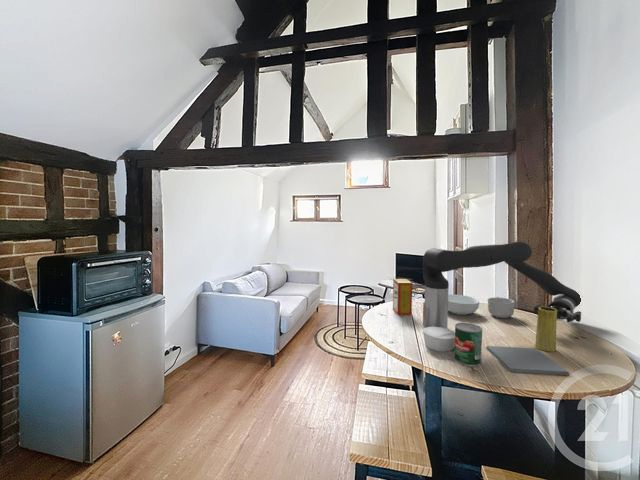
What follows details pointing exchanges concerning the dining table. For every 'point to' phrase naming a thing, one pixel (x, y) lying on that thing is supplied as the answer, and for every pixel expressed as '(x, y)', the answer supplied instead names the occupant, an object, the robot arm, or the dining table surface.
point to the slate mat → (526, 360)
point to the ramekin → (439, 338)
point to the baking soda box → (402, 296)
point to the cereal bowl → (462, 304)
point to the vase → (546, 329)
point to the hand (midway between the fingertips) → (553, 316)
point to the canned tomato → (468, 344)
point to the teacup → (501, 307)
